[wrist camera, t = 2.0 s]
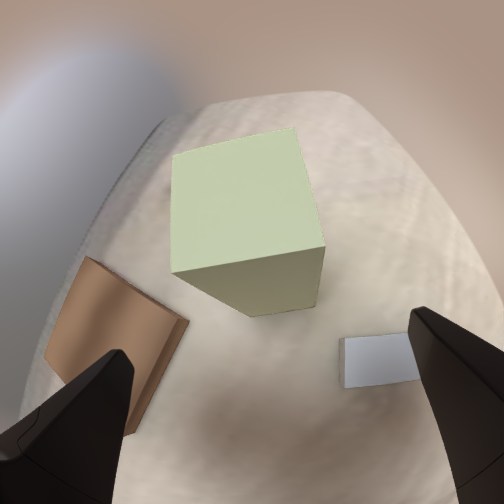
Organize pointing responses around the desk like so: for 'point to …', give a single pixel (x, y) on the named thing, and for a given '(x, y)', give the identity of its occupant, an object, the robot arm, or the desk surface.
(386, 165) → the desk surface
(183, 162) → the green block
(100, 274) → the walnut board
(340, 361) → the gray metal brick
